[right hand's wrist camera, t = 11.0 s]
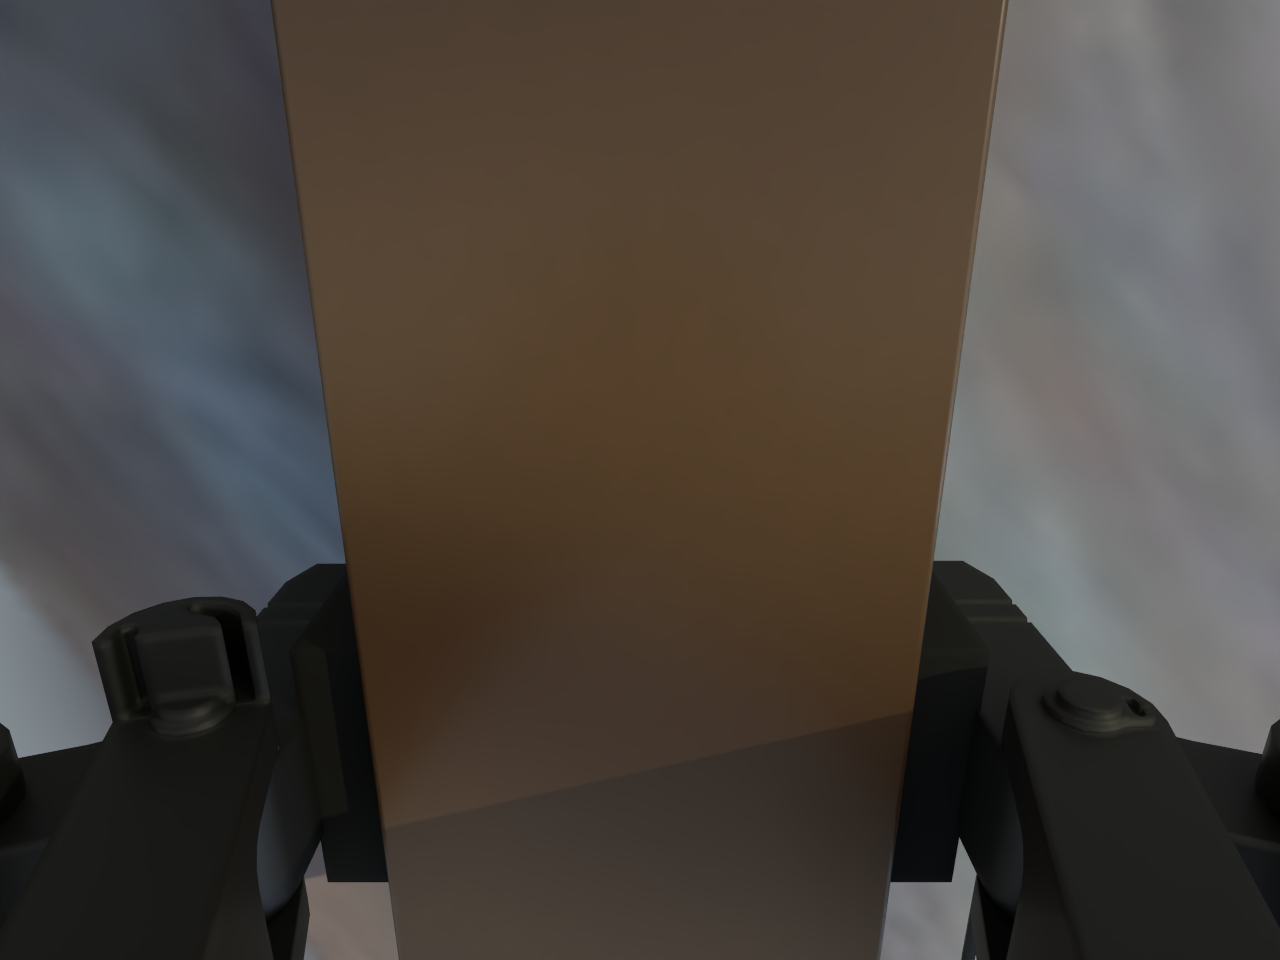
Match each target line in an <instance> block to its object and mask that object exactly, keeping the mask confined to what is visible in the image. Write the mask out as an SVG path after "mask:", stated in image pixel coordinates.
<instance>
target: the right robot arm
mask: <svg viewBox="0 0 1280 960" xmlns="http://www.w3.org/2000/svg"><path fill="white" fill-rule="evenodd" d="M92 645H93V649H94V653H95V656H96V660H97V664H98V668H99V672H100V675H101V679H102V683H103V687H104V691H105V694H106V698H107V702H108V706H109V710H110V713H111V717H112V721H113V723H112V725H111V727H110V728H109V730H108V732H107V734H106V736H105V738H104V739H103V741H102V742H97V743H94V744H89V745H85V746H79V747H74V748H69V749H64V750H58V751H53V752H48V753H43V754H38V755H33V756H27V757H22V758H18V756H17V753H16V750H15V747H14V744H13V741H12V737H11V734H10V731H9V729H7V728H6V727H5V726H3V725H2V724H1V723H0V960H304V953H305V946H306V938H307V931H308V924H309V917H310V913H309V905H308V897H307V891H306V886H305V880H304V874H305V872H306V870H307V868H308V866H309V864H310V861H311V859H312V857H313V855H314V853H315V851H316V849H317V847H318V845H319V842H320V840H321V844H322V850H323V856H324V862H325V868H326V874H327V880H328V882H389V881H388V874H387V866H386V859H385V851H384V844H383V836H382V829H381V821H380V814H379V806H378V799H377V792H376V784H375V777H374V769H373V762H372V754H371V747H370V739H369V732H368V724H367V717H366V709H365V702H364V694H363V687H362V679H361V672H360V664H359V657H358V650H357V642H356V635H355V627H354V620H353V612H352V605H351V597H350V590H349V582H348V575H347V567H346V564H316V565H314V566H313V567H311V568H309V569H307V570H306V571H304V572H302V573H301V574H299V575H297V576H296V577H294V578H292V579H290V580H289V581H287V582H286V583H285V584H284V585H283V586H282V587H281V589H280V590H279V591H278V592H277V593H276V594H275V596H274V597H273V598H272V599H271V600H270V602H269V603H268V608H264V609H263V610H262V611H261V612H260V613H259V615H258V616H257V617H256V611H255V610H254V609H253V608H252V607H250V606H249V605H248V604H246V603H245V602H244V601H240V600H235V599H230V598H226V597H193V598H187V599H182V600H176V601H171V602H165V603H161V604H158V605H156V606H153V607H150V608H147V609H144V610H141V611H138V612H135V613H132V614H131V615H129V616H127V617H125V618H123V619H121V620H119V621H118V622H116V623H114V624H112V625H110V626H108V627H107V628H106V629H105V630H104V631H103V632H102V633H101V634H100V635H99V636H98V637H97V638H96V639H94V640H93V641H92ZM959 837H960V839H961V841H962V843H963V845H964V848H965V850H966V852H967V854H968V856H969V858H970V860H971V862H972V864H973V867H974V869H975V871H976V873H977V875H976V880H975V886H974V891H973V897H972V902H971V908H970V913H969V919H968V924H967V930H966V935H965V941H964V946H963V952H962V959H961V960H975V956H976V958H977V960H1280V719H1279V720H1278V721H1277V722H1276V723H1274V724H1273V725H1272V726H1271V729H1270V732H1269V735H1268V738H1267V741H1266V744H1265V748H1264V751H1263V754H1258V753H1253V752H1248V751H1242V750H1237V749H1232V748H1227V747H1221V746H1216V745H1211V744H1206V743H1200V742H1195V741H1190V740H1186V739H1182V738H1178V737H1176V736H1175V734H1174V732H1173V731H1172V729H1171V727H1170V725H1169V723H1168V721H1167V720H1166V719H1165V718H1164V717H1163V715H1162V714H1161V713H1160V712H1159V711H1158V710H1157V709H1156V707H1155V706H1154V705H1153V704H1152V703H1150V702H1149V701H1147V700H1146V699H1144V698H1143V697H1141V696H1139V695H1138V694H1136V693H1135V692H1133V691H1132V690H1130V689H1129V688H1126V687H1124V686H1121V685H1119V684H1116V683H1114V682H1111V681H1109V680H1106V679H1104V678H1101V677H1097V676H1093V675H1088V674H1084V673H1079V672H1074V671H1072V670H1071V669H1070V668H1069V666H1068V665H1067V664H1066V663H1065V662H1064V661H1063V659H1062V658H1061V657H1060V656H1059V655H1058V654H1057V652H1056V651H1055V650H1054V649H1053V648H1052V646H1051V645H1050V644H1049V643H1048V642H1047V641H1046V639H1045V638H1044V637H1043V636H1042V635H1041V634H1040V632H1039V631H1038V630H1037V629H1036V628H1035V627H1034V625H1033V624H1032V623H1027V617H1026V616H1025V615H1024V614H1023V613H1022V611H1021V610H1020V609H1019V608H1018V607H1017V605H1016V604H1012V600H1011V598H1010V597H1009V596H1008V595H1007V594H1006V593H1005V591H1004V590H1003V589H1002V588H1001V587H1000V586H999V584H998V583H997V582H996V581H995V580H994V579H993V578H991V577H990V576H988V575H986V574H984V573H983V572H981V571H979V570H977V569H976V568H974V567H972V566H971V565H969V564H967V563H965V562H964V561H933V567H932V575H931V582H930V590H929V597H928V605H927V612H926V620H925V627H924V634H923V642H922V649H921V657H920V664H919V672H918V679H917V687H916V694H915V702H914V709H913V717H912V724H911V731H910V739H909V746H908V754H907V761H906V769H905V776H904V784H903V791H902V799H901V806H900V813H899V821H898V828H897V836H896V843H895V851H894V858H893V866H892V873H891V881H890V882H952V876H953V870H954V865H955V859H956V853H957V847H958V841H959Z"/></svg>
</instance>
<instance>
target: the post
mask: <svg viewBox="0 0 1280 960" xmlns="http://www.w3.org/2000/svg"><path fill="white" fill-rule="evenodd" d="M1008 1H1009V0H271V7H272V14H273V22H274V29H275V37H276V44H277V52H278V59H279V67H280V74H281V82H282V89H283V97H284V104H285V111H286V119H287V126H288V134H289V141H290V149H291V156H292V164H293V171H294V179H295V186H296V194H297V201H298V209H299V216H300V224H301V231H302V239H303V246H304V253H305V261H306V268H307V276H308V283H309V291H310V298H311V306H312V313H313V321H314V328H315V336H316V343H317V351H318V358H319V366H320V373H321V381H322V388H323V395H324V403H325V410H326V418H327V425H328V433H329V440H330V448H331V455H332V463H333V470H334V478H335V485H336V493H337V500H338V508H339V515H340V523H341V530H342V537H343V545H344V552H345V560H346V567H347V575H348V582H349V590H350V597H351V605H352V612H353V620H354V627H355V635H356V642H357V650H358V657H359V664H360V672H361V679H362V687H363V694H364V702H365V709H366V717H367V724H368V732H369V739H370V747H371V754H372V762H373V769H374V777H375V784H376V792H377V799H378V806H379V814H380V821H381V829H382V836H383V844H384V851H385V859H386V866H387V874H388V881H389V889H390V896H391V904H392V911H393V919H394V926H395V934H396V941H397V948H398V956H399V960H880V955H881V948H882V940H883V933H884V925H885V918H886V910H887V903H888V895H889V888H890V881H891V873H892V866H893V858H894V851H895V843H896V836H897V828H898V821H899V813H900V806H901V799H902V791H903V784H904V776H905V769H906V761H907V754H908V746H909V739H910V731H911V724H912V717H913V709H914V702H915V694H916V687H917V679H918V672H919V664H920V657H921V649H922V642H923V634H924V627H925V620H926V612H927V605H928V597H929V590H930V582H931V575H932V567H933V560H934V552H935V545H936V538H937V530H938V523H939V515H940V508H941V500H942V493H943V485H944V478H945V470H946V463H947V456H948V448H949V441H950V433H951V426H952V418H953V411H954V403H955V396H956V388H957V381H958V374H959V366H960V359H961V351H962V344H963V336H964V329H965V321H966V314H967V306H968V299H969V292H970V284H971V277H972V269H973V262H974V254H975V247H976V239H977V232H978V224H979V217H980V210H981V202H982V195H983V187H984V180H985V172H986V165H987V157H988V150H989V142H990V135H991V127H992V120H993V113H994V105H995V98H996V90H997V83H998V75H999V68H1000V60H1001V53H1002V45H1003V38H1004V31H1005V23H1006V16H1007V8H1008Z"/></svg>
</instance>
